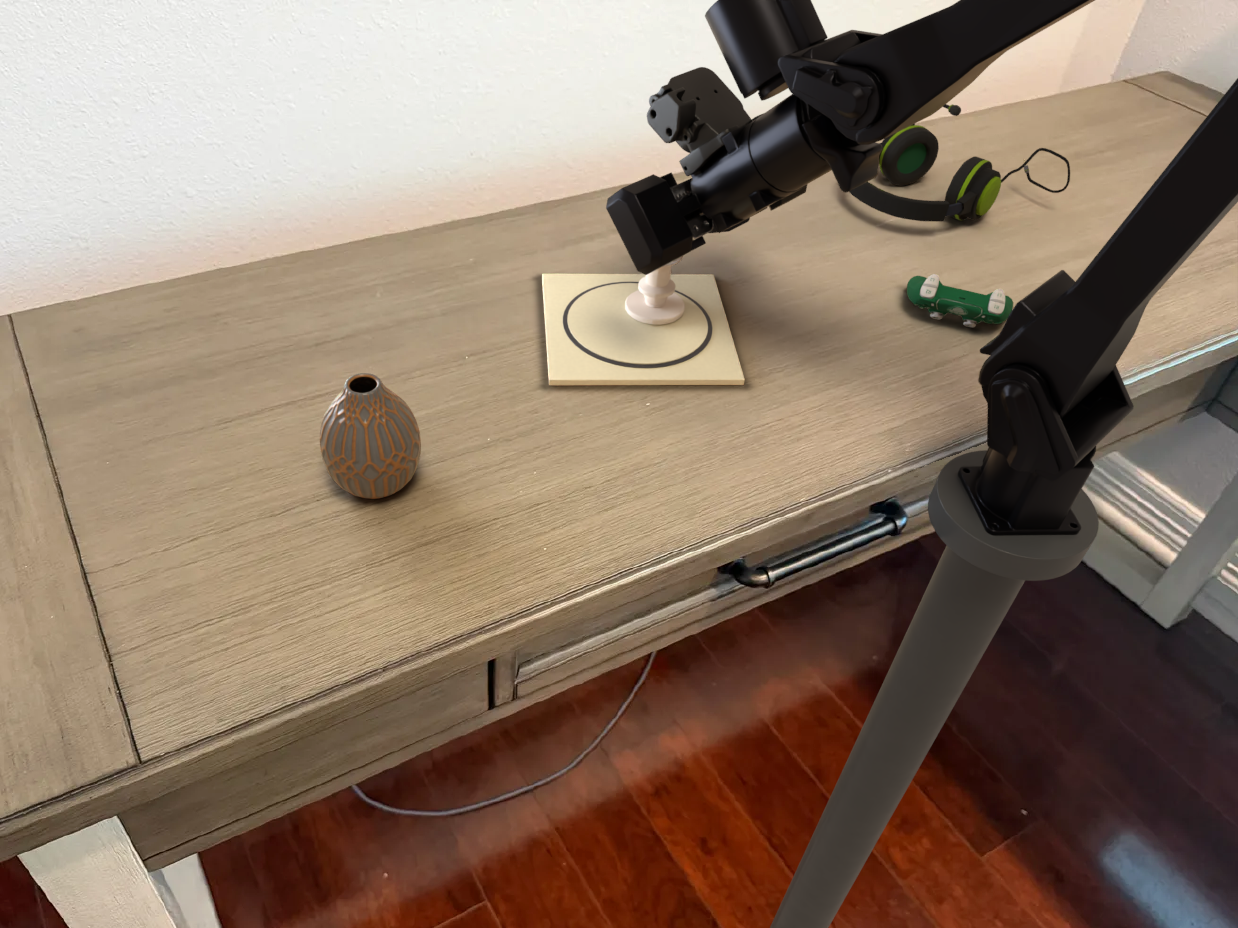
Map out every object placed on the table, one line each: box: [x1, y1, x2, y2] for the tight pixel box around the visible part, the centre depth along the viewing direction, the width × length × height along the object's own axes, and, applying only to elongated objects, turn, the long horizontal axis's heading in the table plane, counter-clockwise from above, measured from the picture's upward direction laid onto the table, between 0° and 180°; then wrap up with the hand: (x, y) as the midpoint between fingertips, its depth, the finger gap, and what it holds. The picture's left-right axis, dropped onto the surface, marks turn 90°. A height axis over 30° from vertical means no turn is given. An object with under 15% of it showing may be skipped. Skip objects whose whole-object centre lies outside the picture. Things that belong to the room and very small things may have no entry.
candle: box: [625, 256, 685, 325], centre depth 83 cm, size 5×5×10 cm
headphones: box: [848, 103, 1071, 222], centre depth 100 cm, size 16×10×20 cm
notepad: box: [541, 273, 746, 386], centre depth 85 cm, size 16×16×1 cm
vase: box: [319, 372, 422, 500], centre depth 68 cm, size 7×7×9 cm
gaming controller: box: [906, 273, 1014, 328], centre depth 87 cm, size 9×4×6 cm
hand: (648, 234), depth 82 cm, fingers closed on candle
